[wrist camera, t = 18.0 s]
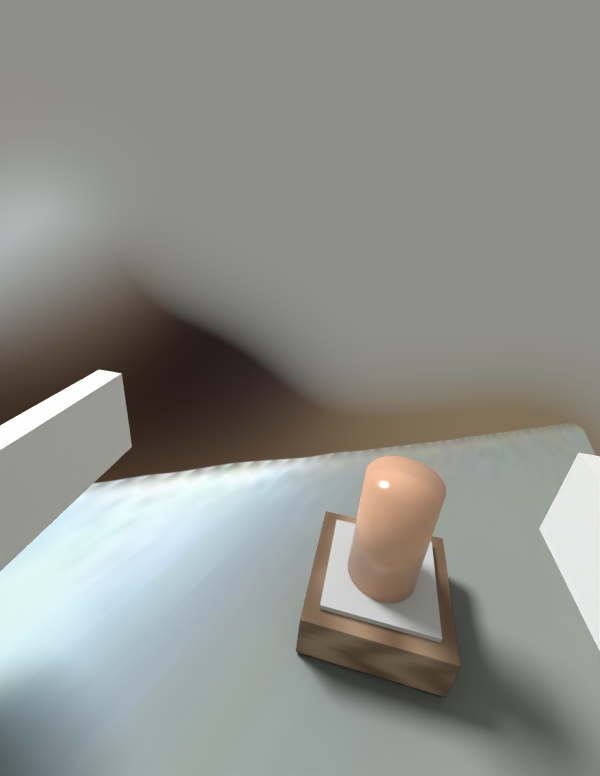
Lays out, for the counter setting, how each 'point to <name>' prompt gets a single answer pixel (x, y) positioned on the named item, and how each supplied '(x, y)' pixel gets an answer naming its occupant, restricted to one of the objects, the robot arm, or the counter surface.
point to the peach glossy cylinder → (394, 527)
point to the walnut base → (379, 618)
